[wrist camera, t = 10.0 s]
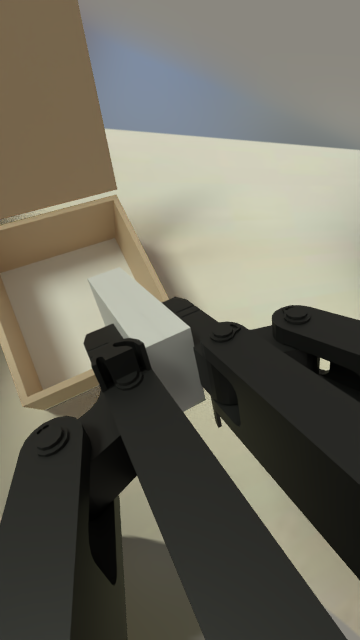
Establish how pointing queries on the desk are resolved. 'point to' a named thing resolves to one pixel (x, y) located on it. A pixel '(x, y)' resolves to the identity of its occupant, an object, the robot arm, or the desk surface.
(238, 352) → the robot arm
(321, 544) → the desk surface
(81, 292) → the box
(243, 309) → the desk surface
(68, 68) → the mailer lid
